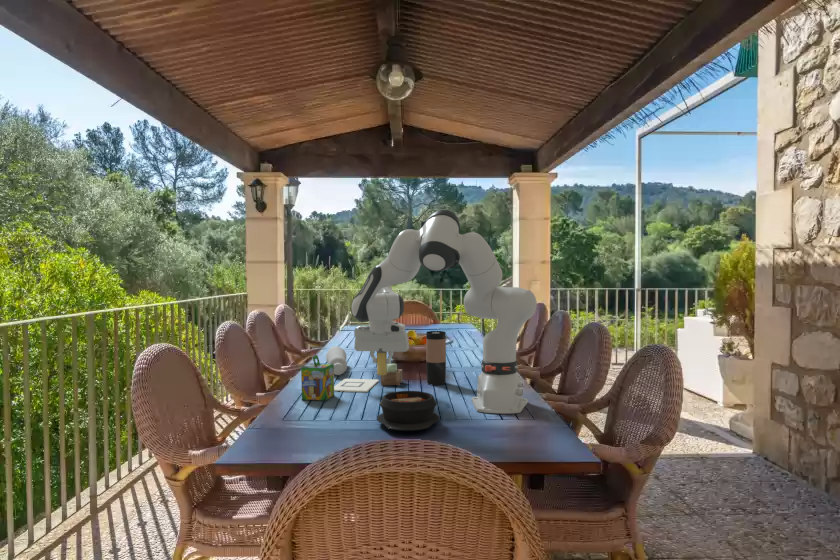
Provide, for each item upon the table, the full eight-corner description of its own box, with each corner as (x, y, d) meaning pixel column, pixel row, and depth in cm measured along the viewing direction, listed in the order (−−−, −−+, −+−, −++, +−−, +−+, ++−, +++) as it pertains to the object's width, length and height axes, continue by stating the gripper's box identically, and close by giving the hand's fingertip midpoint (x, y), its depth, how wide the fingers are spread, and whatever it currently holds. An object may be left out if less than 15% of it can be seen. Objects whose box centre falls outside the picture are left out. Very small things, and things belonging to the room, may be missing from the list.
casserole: (378, 413, 188) (378, 387, 188) (437, 412, 189) (437, 386, 188) (374, 437, 163) (374, 407, 163) (442, 436, 164) (442, 406, 163)
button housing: (399, 385, 228) (398, 372, 227) (381, 385, 229) (380, 372, 229) (402, 381, 235) (402, 369, 234) (384, 381, 236) (384, 368, 235)
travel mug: (446, 381, 235) (446, 330, 235) (445, 385, 228) (445, 333, 227) (427, 381, 236) (427, 330, 235) (425, 385, 229) (425, 333, 228)
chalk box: (326, 401, 204) (325, 358, 203) (300, 400, 206) (300, 357, 205) (335, 395, 213) (334, 354, 212) (311, 394, 215) (310, 353, 214)
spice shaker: (385, 375, 219) (385, 348, 219) (375, 375, 220) (375, 348, 220) (388, 373, 223) (387, 346, 223) (378, 373, 224) (377, 346, 223)
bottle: (321, 358, 271) (322, 373, 242) (333, 341, 271) (334, 354, 242) (338, 368, 273) (341, 384, 243) (349, 352, 273) (353, 366, 243)
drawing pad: (366, 392, 217) (366, 390, 217) (329, 391, 219) (329, 389, 219) (379, 381, 237) (379, 379, 236) (344, 380, 239) (344, 378, 239)
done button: (395, 380, 229) (395, 365, 229) (385, 380, 230) (385, 365, 230) (397, 378, 233) (397, 363, 233) (387, 378, 234) (387, 363, 234)
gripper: (351, 327, 220) (352, 364, 220) (406, 327, 216) (406, 365, 217) (356, 325, 226) (357, 361, 226) (409, 325, 222) (410, 362, 223)
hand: (381, 363), depth 221 cm, fingers closed on spice shaker, 4 cm apart
